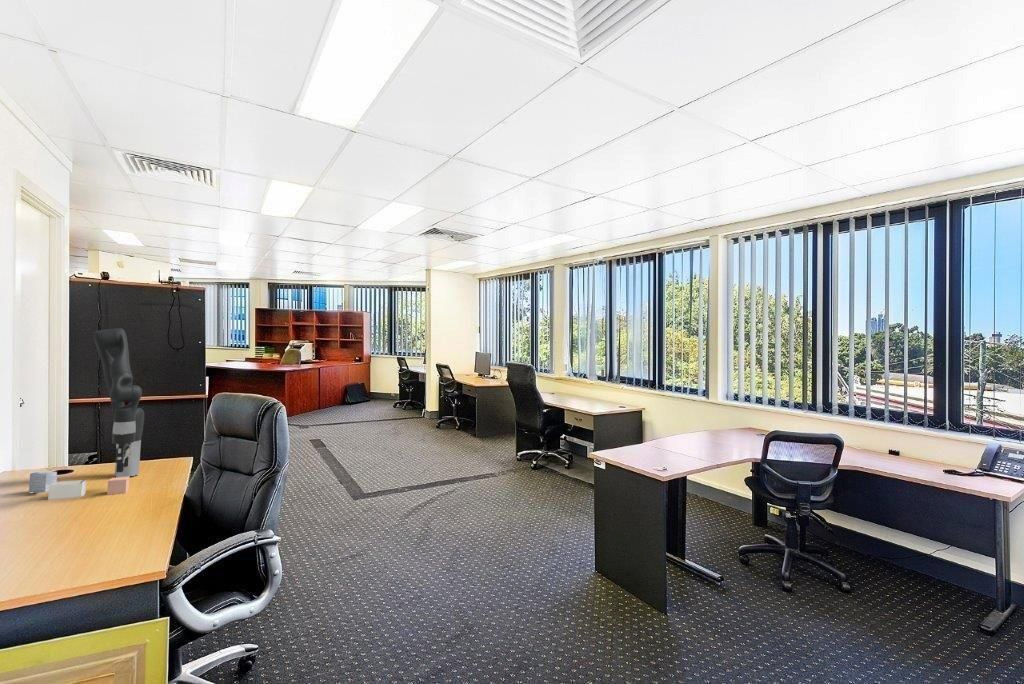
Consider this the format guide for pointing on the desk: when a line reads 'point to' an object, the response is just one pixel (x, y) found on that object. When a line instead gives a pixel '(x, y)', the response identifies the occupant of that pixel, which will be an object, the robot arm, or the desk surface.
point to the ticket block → (67, 489)
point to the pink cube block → (118, 485)
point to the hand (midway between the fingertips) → (122, 469)
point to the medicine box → (41, 481)
